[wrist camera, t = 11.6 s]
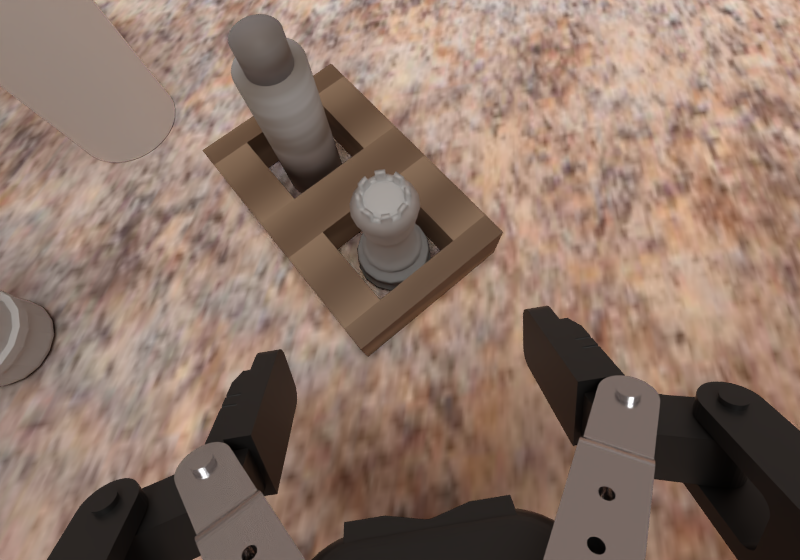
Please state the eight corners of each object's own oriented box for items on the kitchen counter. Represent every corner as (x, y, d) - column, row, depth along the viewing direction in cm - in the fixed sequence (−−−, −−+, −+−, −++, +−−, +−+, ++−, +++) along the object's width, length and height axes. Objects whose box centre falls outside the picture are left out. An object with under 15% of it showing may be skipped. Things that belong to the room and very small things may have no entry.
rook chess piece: (363, 224, 26) (338, 149, 18) (431, 227, 26) (435, 151, 18) (356, 290, 25) (326, 239, 17) (428, 294, 24) (431, 243, 17)
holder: (225, 177, 28) (111, 43, 17) (340, 97, 29) (296, -67, 19) (368, 356, 23) (327, 318, 13) (493, 252, 25) (542, 146, 15)
